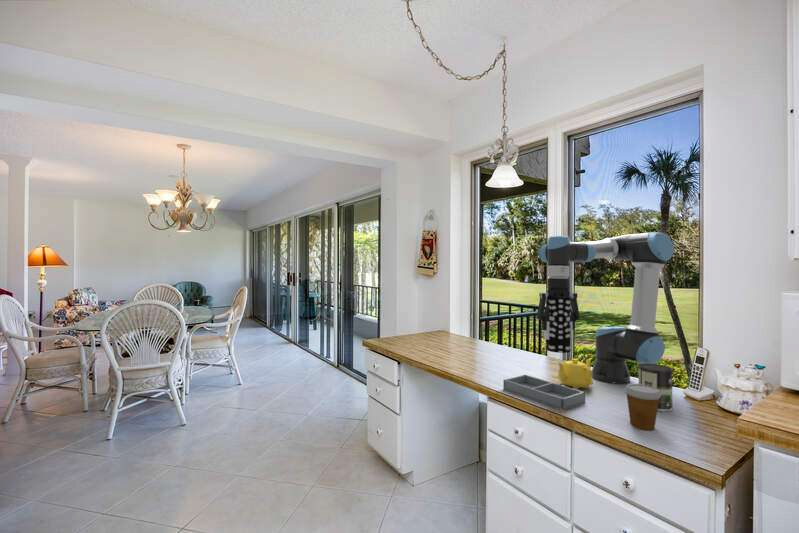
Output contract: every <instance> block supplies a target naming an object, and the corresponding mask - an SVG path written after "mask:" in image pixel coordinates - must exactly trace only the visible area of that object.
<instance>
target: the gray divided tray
mask: <svg viewBox="0 0 799 533" xmlns="http://www.w3.org/2000/svg"><path fill="white" fill-rule="evenodd" d="M503 391H506V392H509V393H511V394H515V395H517V396H519V397H523V398H526V399H527V400H532V401H535V402H537V403H540V404H543V405H546V406H549V407H551V408H554V409H557V408H558V409H557V410H559V409H561V410H560V411H562V410H564V411H567V410H570V409H572V407H573V408H575V407H578V406H581V405H583V404H586V392H585V391H582V390H576V389H573V387H572V388H571V387H570V386H562V384H558V383H555V382H552V381H548V380H545V379H541V378H537V377H534V376H532V375H528V374H522V375H518V376H514V377H511V378H510V377H508V378H505V379H503ZM569 408H570V409H569ZM566 409H567V410H566Z"/></svg>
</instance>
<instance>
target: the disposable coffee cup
mask: <svg viewBox="0 0 799 533" xmlns="http://www.w3.org/2000/svg"><path fill="white" fill-rule="evenodd" d="M624 391H625V393H626V399H627V406H628V414H629V421H630V422H629V423H630V426H632V427H633V428H635V429H638V430H642V431H654V430H655V426H656V421H657V415H658V411H657V409H658V402H659V398H660V397H661V394H660V392H659V390H658V389H656V388H654V387H651V386H647V385H641V384H639V383H629V384H627V385H626V387H625V388H624Z"/></svg>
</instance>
